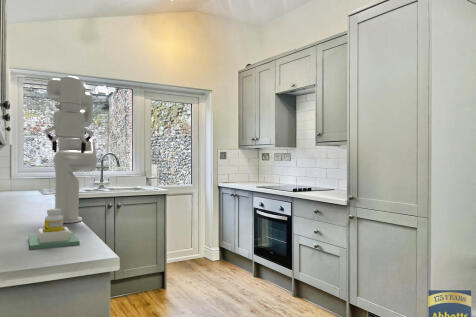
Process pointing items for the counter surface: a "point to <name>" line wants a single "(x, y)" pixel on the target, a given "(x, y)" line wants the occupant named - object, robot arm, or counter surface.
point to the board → (53, 239)
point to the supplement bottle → (53, 221)
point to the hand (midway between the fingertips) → (69, 152)
